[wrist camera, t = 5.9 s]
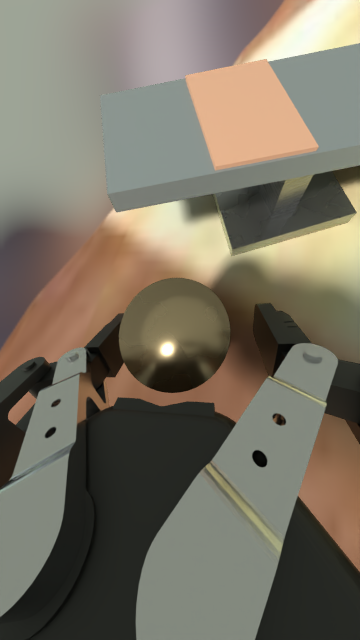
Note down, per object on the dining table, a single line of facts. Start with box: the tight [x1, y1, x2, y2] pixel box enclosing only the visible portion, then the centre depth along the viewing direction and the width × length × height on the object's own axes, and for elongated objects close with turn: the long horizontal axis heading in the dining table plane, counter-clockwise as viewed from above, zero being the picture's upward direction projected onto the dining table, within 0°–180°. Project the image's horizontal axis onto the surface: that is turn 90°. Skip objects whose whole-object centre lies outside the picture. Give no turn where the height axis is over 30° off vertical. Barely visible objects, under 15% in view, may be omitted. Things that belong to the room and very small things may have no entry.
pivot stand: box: [213, 171, 357, 256], centre depth 14 cm, size 10×12×5 cm
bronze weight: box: [119, 278, 230, 393], centre depth 10 cm, size 4×4×9 cm
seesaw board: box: [100, 43, 360, 212], centre depth 11 cm, size 26×10×1 cm, turn 100°
